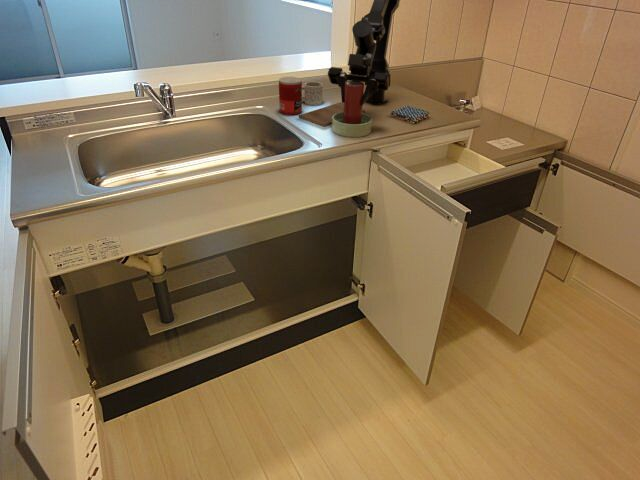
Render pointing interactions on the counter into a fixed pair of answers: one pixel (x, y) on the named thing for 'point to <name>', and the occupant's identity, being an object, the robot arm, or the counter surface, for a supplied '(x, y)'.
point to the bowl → (351, 126)
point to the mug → (313, 93)
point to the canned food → (290, 95)
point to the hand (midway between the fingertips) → (351, 103)
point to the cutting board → (323, 114)
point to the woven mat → (409, 114)
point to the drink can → (353, 102)
